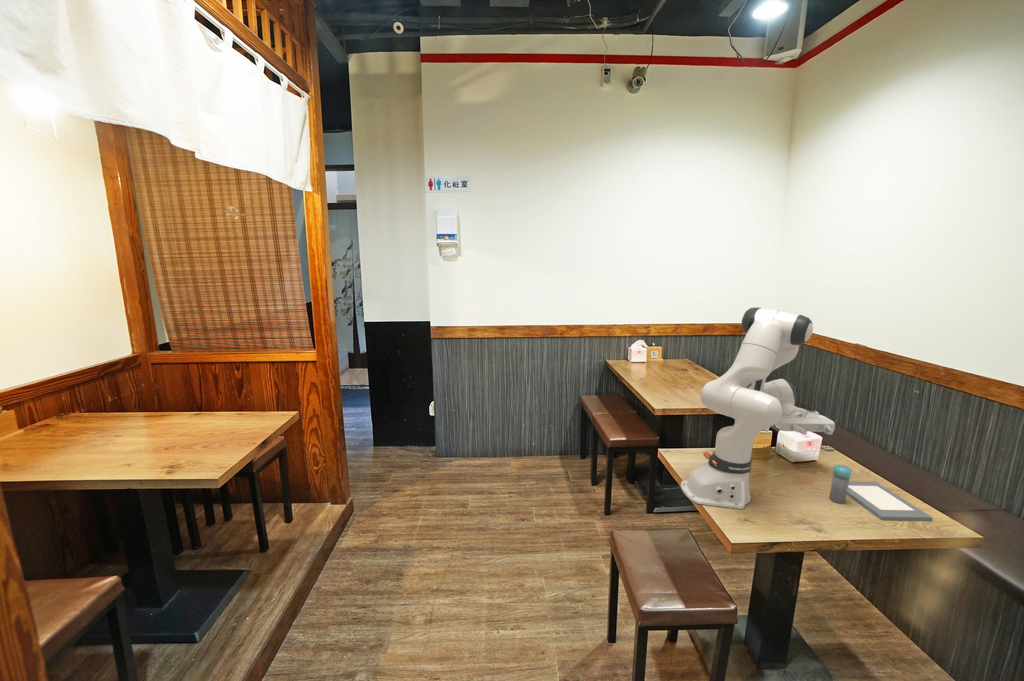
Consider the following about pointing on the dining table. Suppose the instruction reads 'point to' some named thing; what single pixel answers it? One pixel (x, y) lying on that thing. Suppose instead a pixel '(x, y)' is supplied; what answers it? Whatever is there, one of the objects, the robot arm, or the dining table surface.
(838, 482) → the marker
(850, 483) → the writing board
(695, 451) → the dining table surface
